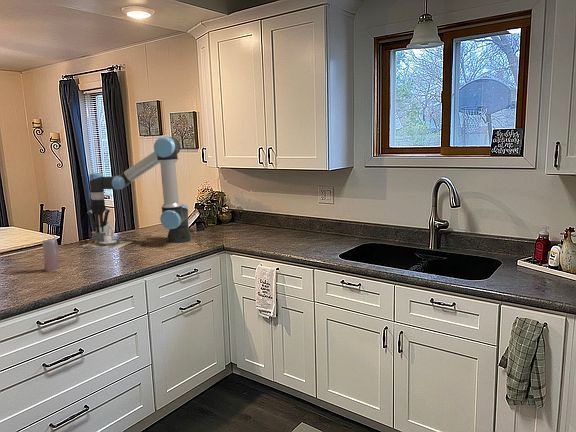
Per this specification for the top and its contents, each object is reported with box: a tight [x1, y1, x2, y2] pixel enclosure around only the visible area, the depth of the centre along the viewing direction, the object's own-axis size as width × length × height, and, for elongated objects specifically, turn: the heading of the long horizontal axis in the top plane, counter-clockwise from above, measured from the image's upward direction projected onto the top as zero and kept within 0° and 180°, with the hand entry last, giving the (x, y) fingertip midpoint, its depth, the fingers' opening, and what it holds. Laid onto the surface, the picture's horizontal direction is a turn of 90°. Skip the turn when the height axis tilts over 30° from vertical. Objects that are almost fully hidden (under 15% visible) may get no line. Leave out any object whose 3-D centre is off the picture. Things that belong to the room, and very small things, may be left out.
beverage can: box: [42, 238, 60, 273], centre depth 210 cm, size 6×6×15 cm
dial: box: [91, 231, 117, 243], centre depth 262 cm, size 15×10×7 cm, turn 77°
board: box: [82, 238, 133, 249], centre depth 262 cm, size 24×17×3 cm
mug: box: [99, 221, 115, 237], centre depth 279 cm, size 12×8×10 cm
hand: (100, 237), depth 265 cm, fingers closed
